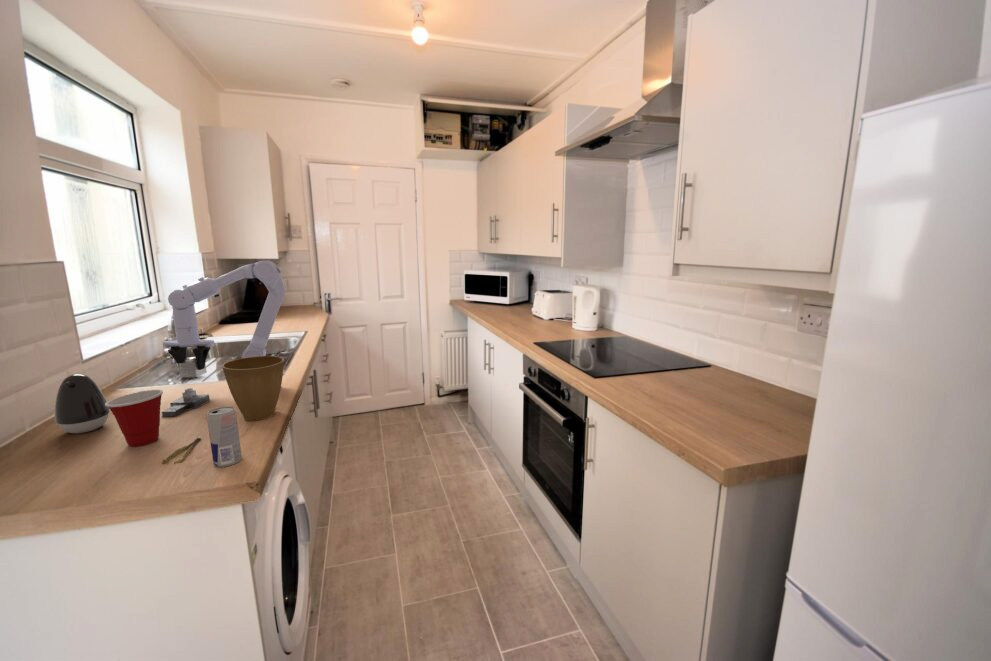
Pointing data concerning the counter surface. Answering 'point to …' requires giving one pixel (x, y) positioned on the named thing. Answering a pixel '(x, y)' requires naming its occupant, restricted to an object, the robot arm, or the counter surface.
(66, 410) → the grey egg-shaped dome
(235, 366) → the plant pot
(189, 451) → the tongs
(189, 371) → the cube with round knob
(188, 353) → the salt shaker
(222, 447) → the energy drink
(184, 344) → the robot arm
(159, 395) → the plastic cup
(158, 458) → the counter surface
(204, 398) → the dark grey piece
